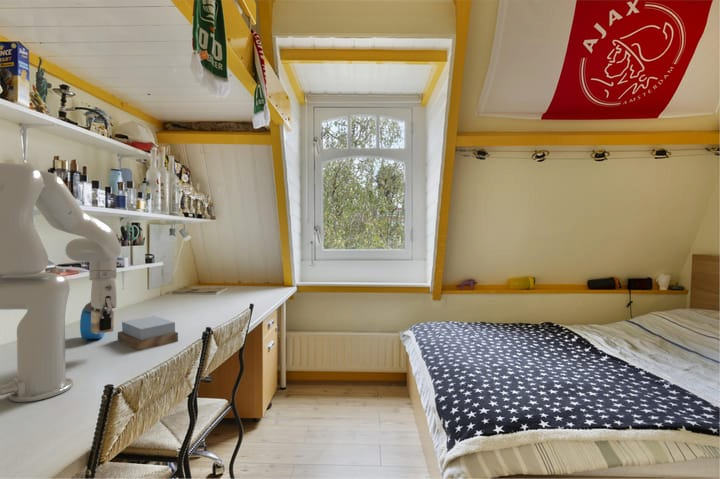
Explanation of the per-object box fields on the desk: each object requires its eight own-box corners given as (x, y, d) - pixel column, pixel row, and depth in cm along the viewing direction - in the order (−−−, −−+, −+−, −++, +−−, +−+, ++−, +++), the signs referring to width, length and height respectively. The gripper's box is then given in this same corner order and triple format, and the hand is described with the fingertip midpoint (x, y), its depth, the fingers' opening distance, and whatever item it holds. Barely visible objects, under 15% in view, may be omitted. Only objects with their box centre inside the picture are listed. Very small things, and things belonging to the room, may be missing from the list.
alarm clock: (88, 335, 145) (88, 298, 144) (107, 333, 148) (106, 297, 147) (79, 344, 133) (79, 304, 133) (99, 342, 136) (99, 303, 135)
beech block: (96, 334, 118) (96, 312, 118) (90, 331, 121) (91, 311, 121) (113, 331, 122) (113, 310, 122) (108, 329, 125) (108, 309, 125)
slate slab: (141, 340, 128) (141, 329, 128) (122, 331, 138) (122, 321, 138) (175, 332, 138) (174, 322, 138) (154, 325, 148) (154, 315, 148)
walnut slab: (138, 352, 127) (138, 341, 127) (117, 342, 138) (117, 331, 138) (177, 342, 138) (177, 332, 138) (155, 334, 150) (155, 324, 149)
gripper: (125, 275, 119) (124, 330, 119) (106, 273, 130) (106, 323, 129) (98, 277, 114) (97, 334, 113) (81, 274, 124) (80, 327, 123)
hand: (102, 328), depth 121 cm, fingers closed on beech block, 5 cm apart
